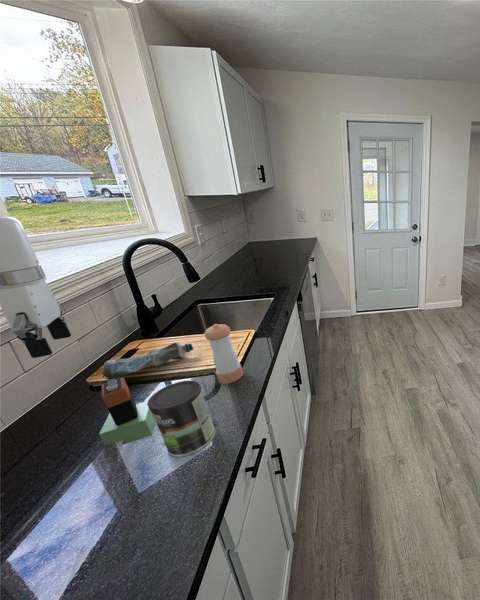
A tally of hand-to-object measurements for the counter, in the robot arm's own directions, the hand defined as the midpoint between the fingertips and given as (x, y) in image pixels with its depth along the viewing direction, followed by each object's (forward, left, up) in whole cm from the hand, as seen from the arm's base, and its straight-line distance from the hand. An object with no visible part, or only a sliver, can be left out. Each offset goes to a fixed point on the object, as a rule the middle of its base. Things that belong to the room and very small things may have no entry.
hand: (53, 346), depth 73 cm
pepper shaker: (+32, +7, -25) cm, 42 cm away
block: (+9, -6, -25) cm, 27 cm away
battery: (+9, -6, -20) cm, 23 cm away
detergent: (+8, +29, -25) cm, 39 cm away
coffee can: (+23, -18, -25) cm, 39 cm away
